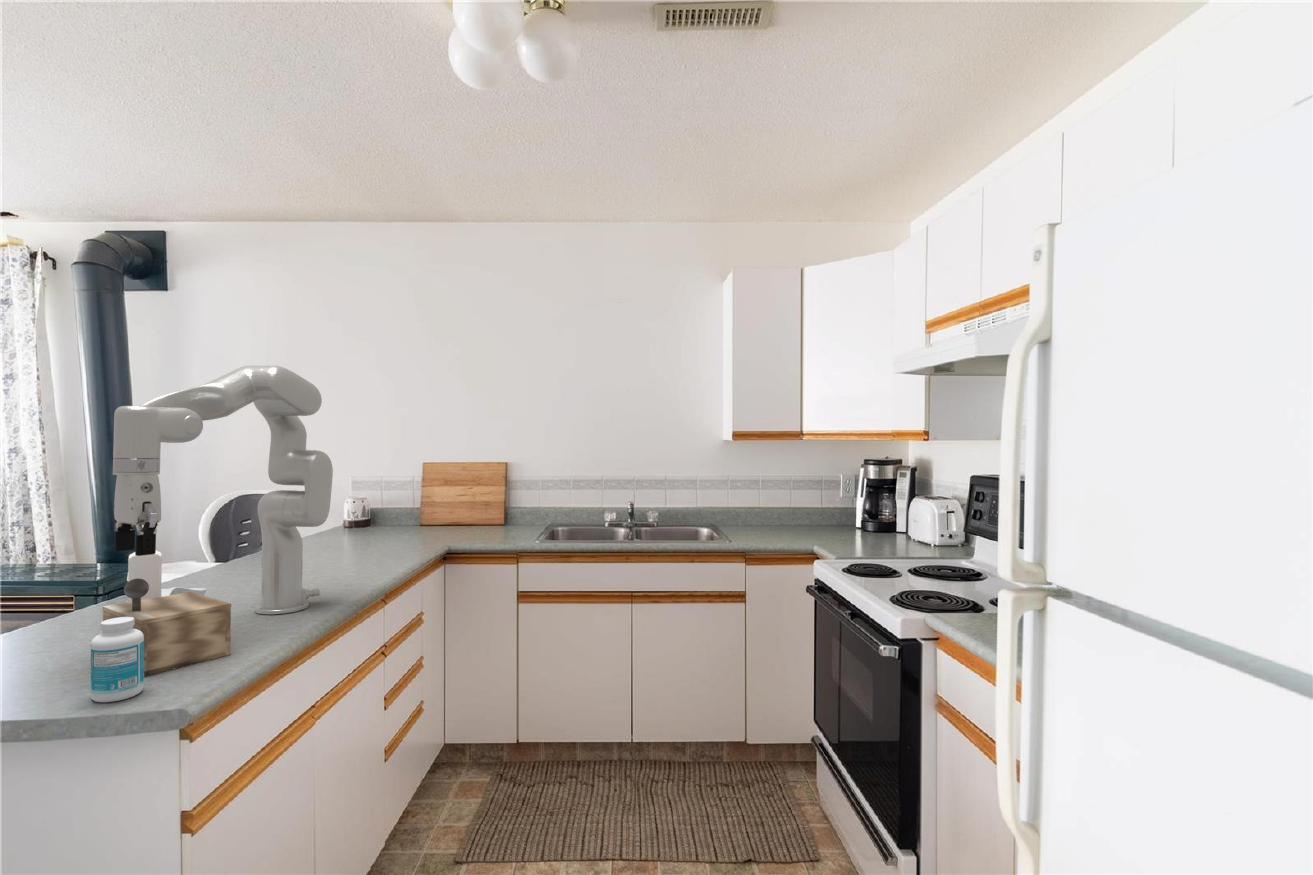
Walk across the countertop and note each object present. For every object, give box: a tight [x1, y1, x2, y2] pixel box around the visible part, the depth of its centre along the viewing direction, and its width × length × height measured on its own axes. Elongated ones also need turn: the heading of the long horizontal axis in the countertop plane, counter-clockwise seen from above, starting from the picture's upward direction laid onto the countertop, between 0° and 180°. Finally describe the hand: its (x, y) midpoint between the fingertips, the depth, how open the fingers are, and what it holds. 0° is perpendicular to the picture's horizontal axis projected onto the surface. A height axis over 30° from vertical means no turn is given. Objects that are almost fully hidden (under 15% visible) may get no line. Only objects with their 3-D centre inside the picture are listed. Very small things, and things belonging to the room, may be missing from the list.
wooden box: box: [102, 606, 232, 678], centre depth 139 cm, size 16×18×10 cm
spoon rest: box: [161, 586, 207, 597], centre depth 177 cm, size 24×12×7 cm, turn 22°
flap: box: [102, 578, 232, 625], centre depth 139 cm, size 16×18×7 cm
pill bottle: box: [90, 617, 145, 703], centre depth 119 cm, size 8×7×14 cm
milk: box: [127, 550, 163, 603], centre depth 152 cm, size 6×6×22 cm
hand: (134, 552), depth 134 cm, fingers open, 9 cm apart
